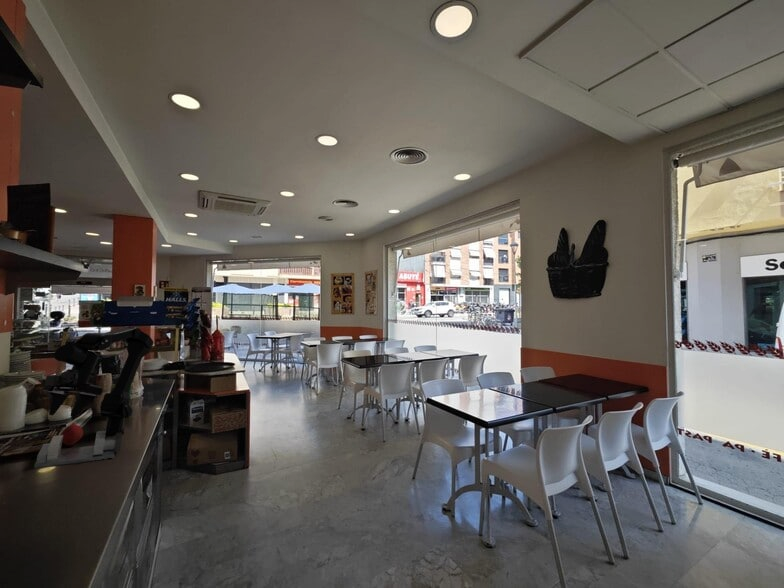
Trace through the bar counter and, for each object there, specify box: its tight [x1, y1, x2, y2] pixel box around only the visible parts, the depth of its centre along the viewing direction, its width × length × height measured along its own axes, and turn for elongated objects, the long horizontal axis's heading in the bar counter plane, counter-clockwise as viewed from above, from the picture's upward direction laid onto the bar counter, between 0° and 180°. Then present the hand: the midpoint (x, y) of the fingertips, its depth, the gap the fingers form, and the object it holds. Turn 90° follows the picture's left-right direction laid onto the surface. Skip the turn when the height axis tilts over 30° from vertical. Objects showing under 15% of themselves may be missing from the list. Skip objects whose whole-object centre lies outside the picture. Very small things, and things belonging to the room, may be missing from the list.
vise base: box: [33, 434, 116, 469], centre depth 116 cm, size 12×19×6 cm, turn 128°
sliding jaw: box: [93, 430, 123, 455], centre depth 120 cm, size 9×7×5 cm
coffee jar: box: [109, 373, 134, 407], centre depth 160 cm, size 10×8×19 cm
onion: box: [60, 421, 84, 447], centre depth 124 cm, size 6×6×8 cm
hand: (61, 415), depth 115 cm, fingers open, 9 cm apart
